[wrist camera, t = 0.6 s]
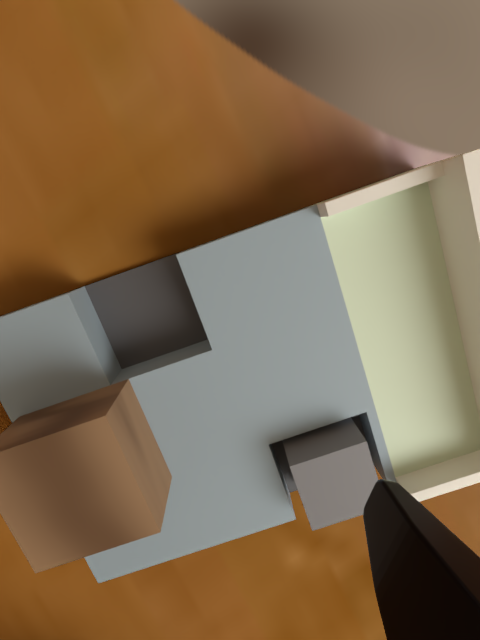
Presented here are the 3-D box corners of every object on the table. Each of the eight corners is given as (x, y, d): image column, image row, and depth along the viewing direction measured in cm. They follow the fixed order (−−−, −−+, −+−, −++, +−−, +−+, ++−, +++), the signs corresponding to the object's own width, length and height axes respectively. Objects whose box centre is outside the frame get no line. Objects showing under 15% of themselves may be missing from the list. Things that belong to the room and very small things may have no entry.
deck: (110, 548, 25) (79, 635, 20) (-8, 319, 22) (-85, 349, 16) (474, 429, 24) (544, 487, 19) (415, 168, 21) (482, 147, 15)
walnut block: (69, 510, 22) (35, 573, 18) (19, 416, 20) (-30, 461, 16) (172, 476, 21) (160, 532, 17) (128, 378, 20) (105, 415, 16)
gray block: (298, 482, 24) (312, 530, 20) (278, 426, 23) (289, 466, 20) (360, 462, 24) (386, 506, 20) (342, 405, 23) (366, 441, 19)
